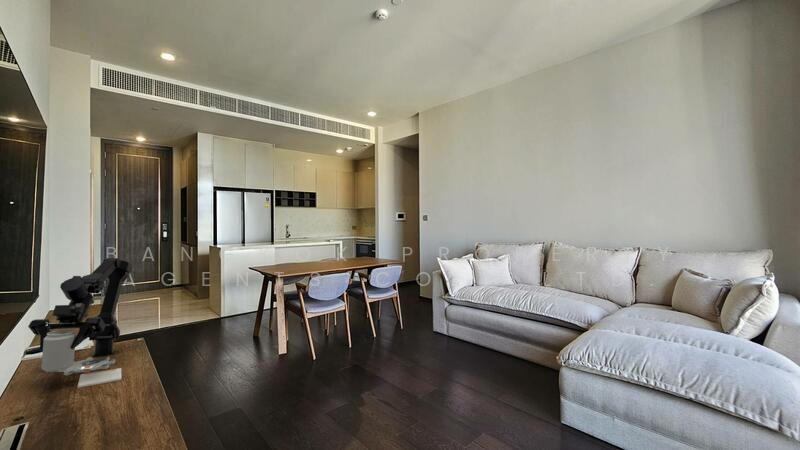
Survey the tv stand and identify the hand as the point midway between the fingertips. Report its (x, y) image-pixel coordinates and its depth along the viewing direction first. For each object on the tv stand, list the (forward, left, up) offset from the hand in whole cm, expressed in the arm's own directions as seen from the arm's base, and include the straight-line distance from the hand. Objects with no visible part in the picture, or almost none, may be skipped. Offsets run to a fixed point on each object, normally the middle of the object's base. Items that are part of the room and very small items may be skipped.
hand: (56, 349), depth 110 cm
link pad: (-1, +11, -12) cm, 17 cm away
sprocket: (-16, +7, -12) cm, 22 cm away
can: (-1, 0, -7) cm, 7 cm away
